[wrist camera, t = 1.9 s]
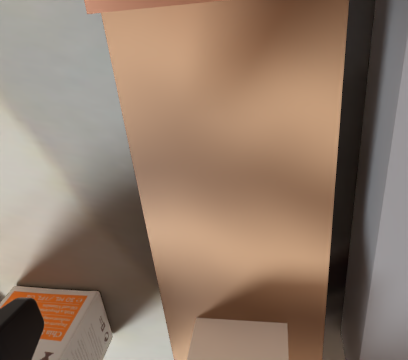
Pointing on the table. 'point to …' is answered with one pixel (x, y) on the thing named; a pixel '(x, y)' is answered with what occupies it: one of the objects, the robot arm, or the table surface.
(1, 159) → the table surface
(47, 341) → the skincare box
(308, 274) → the pallet
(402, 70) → the dock
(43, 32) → the table surface
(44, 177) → the table surface
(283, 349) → the pinkish white cube
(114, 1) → the block
